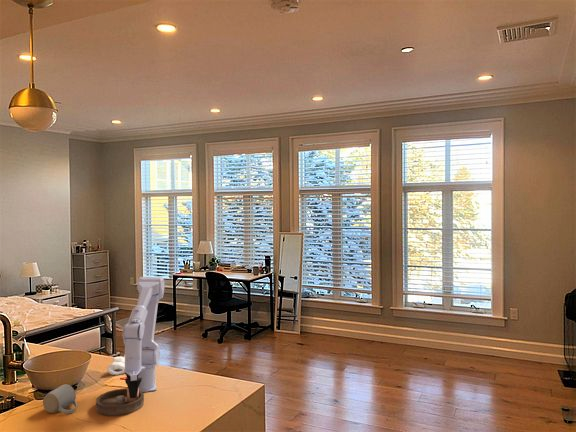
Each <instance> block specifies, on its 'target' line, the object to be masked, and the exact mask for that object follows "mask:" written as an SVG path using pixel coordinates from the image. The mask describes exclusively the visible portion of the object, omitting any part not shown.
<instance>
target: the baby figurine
mask: <svg viewBox="0 0 576 432" xmlns="http://www.w3.org/2000/svg"><path fill="white" fill-rule="evenodd" d="M124 369H125V354H124V355H123V356H115V357H113V360H112V363H110V364H109V365H108V367H107V373H108V374H110V375H112V376H119V374H120V375H122V374H125V372H124Z"/></svg>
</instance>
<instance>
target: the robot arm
mask: <svg viewBox="0 0 576 432" xmlns="http://www.w3.org/2000/svg"><path fill="white" fill-rule="evenodd" d="M165 285H166V283H165V278H164V277H163V276H156V277H155V276H140V277H139V278H138V279H137V283H136V288H137V291H138V298H137V299H138V300H137V304H136V306H134V307H133V308H132V310H131V313H130V316H129V319H128V321H127V323H126V324H124V325H123V327H122V334H121V335H122V339H123V345H124V355H125V369H124V372H125V373H124V375H125V376H126V378H125V379H124V381H125V384H126V386H127V387H128V390H129V396H130V398H136V397H137V393H138V388H139V390H140V391H142V392H143V393H145V392H146V393H147V392H154V391H157V385H156V384H157V383H156V366H157V365H158V364H159V361H160V359H161V352H160V350H161V347H160V345H159V344H158V343H157V342H155V340H154V339H155V332H156V322H157V314H158V305H159V302H160V300H161V299H163V297H164V294H165V287H166V286H165Z"/></svg>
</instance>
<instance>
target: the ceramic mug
mask: <svg viewBox="0 0 576 432" xmlns="http://www.w3.org/2000/svg"><path fill="white" fill-rule="evenodd" d="M76 398H77V394H76V391H75V389H74V388H73V387H72V386H71V385H70V384H66V383H64V384H62V385H60V386H58V387H56V388H55V389H53V390H51V391H49V392H48V393H47V394H45V396H44V397H43V400H42V405H43V408H44V409H45V411H46V412H48V413H49V414H55V413H58V412H60V413H63V414H67V415H68V414H72V413H74V412H76V410H77V408H78V403H77V402H76ZM72 405H73V406H74V407H73V408H72V409H66V408H68V407H71V406H72Z"/></svg>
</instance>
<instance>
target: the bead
mask: <svg viewBox="0 0 576 432" xmlns="http://www.w3.org/2000/svg"><path fill="white" fill-rule="evenodd" d="M126 389H127V403H131V402H134V401H136V400H138V399H139V388H138V393H137V397H136V398H130V396H129V390H128V386H127V388H126Z"/></svg>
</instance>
